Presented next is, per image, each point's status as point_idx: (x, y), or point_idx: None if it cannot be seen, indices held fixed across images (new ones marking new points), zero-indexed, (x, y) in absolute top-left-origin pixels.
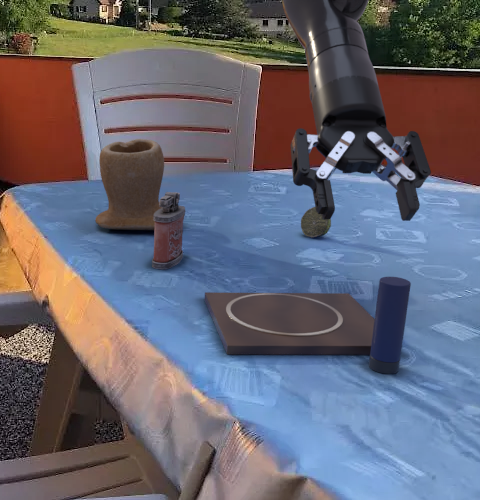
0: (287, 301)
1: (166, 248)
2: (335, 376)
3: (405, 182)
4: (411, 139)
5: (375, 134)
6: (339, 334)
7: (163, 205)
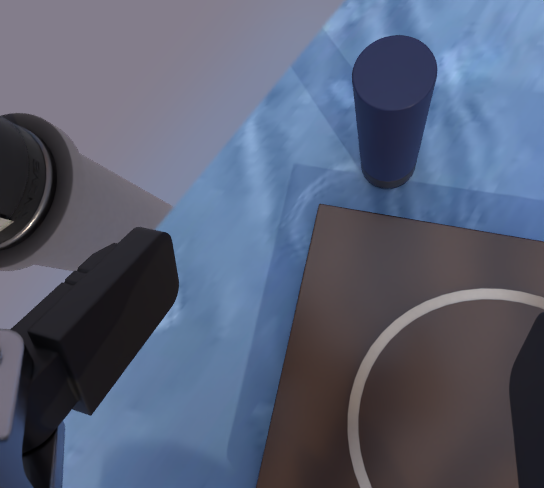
0: None
1: None
2: (502, 145)
3: (54, 331)
4: None
5: None
6: (418, 280)
7: None
